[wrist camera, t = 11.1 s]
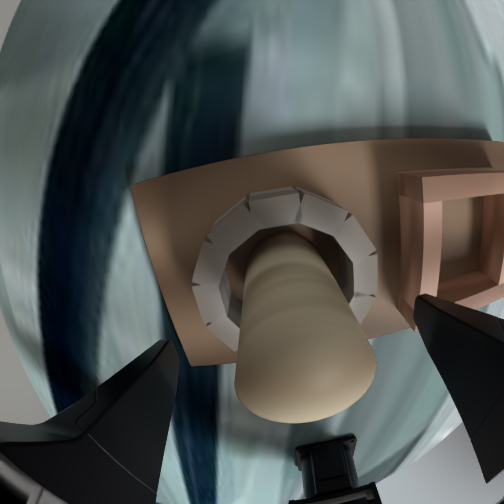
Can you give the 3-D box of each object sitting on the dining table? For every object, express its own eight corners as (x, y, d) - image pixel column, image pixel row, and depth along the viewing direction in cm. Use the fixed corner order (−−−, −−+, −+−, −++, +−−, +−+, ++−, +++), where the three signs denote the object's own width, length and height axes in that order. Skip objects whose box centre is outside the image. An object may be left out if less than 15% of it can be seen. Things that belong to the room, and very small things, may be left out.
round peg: (324, 294, 15) (369, 408, 7) (254, 307, 15) (250, 429, 8) (317, 226, 13) (382, 312, 6) (239, 239, 14) (217, 341, 6)
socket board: (485, 289, 16) (511, 310, 12) (194, 355, 18) (183, 392, 14) (492, 141, 12) (527, 144, 9) (139, 182, 14) (106, 192, 10)
